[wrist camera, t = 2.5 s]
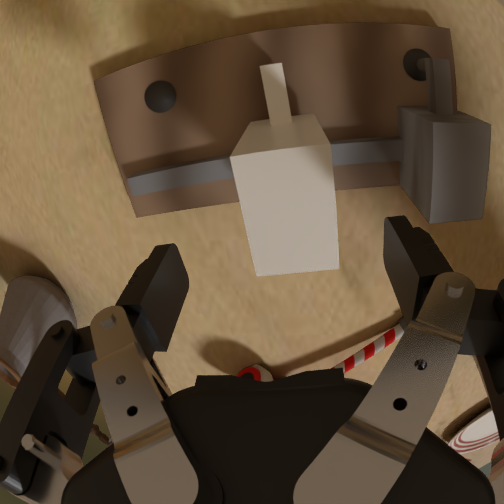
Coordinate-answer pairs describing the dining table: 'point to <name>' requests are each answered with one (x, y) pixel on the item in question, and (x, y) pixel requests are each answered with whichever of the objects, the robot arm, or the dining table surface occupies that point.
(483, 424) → the dinner plate
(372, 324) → the dining table surface
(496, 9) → the dining table surface
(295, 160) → the gauge slider
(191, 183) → the base
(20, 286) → the coffee pot
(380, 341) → the toy hammer
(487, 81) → the dining table surface
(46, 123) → the dining table surface
